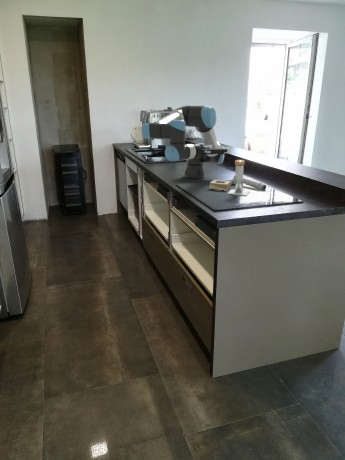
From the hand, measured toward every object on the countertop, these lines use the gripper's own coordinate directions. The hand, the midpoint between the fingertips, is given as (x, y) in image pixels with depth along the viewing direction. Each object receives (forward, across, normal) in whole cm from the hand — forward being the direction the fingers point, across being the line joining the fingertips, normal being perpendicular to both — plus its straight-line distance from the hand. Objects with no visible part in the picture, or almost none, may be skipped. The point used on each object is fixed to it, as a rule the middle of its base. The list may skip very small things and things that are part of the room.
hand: (220, 148), depth 191 cm
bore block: (+12, -10, -26) cm, 30 cm away
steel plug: (+12, +5, -25) cm, 28 cm away
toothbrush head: (+30, -3, -27) cm, 40 cm away
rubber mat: (+12, +5, -26) cm, 29 cm away
